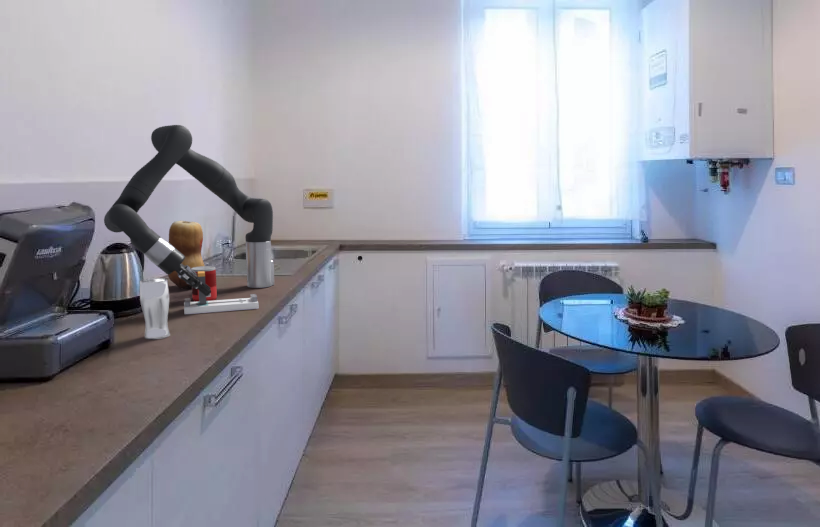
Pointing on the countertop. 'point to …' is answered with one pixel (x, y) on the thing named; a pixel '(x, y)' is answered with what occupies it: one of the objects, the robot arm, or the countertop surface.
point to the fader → (202, 278)
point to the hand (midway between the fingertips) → (208, 292)
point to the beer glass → (155, 307)
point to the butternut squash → (186, 246)
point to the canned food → (206, 282)
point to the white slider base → (221, 305)
